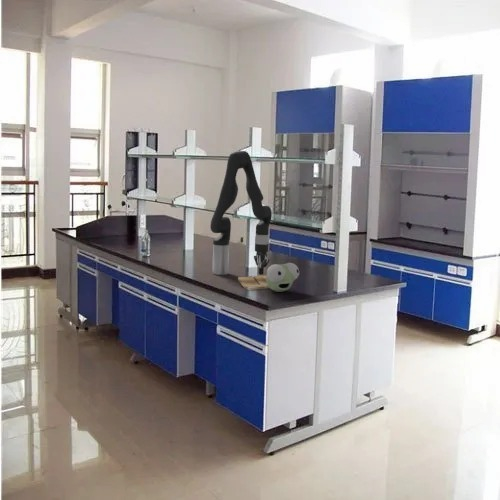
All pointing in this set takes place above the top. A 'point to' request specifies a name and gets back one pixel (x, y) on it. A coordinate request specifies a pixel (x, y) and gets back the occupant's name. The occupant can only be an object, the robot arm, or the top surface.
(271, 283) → the toy
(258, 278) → the plank far
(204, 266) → the top surface
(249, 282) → the plank near
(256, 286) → the laid strip
